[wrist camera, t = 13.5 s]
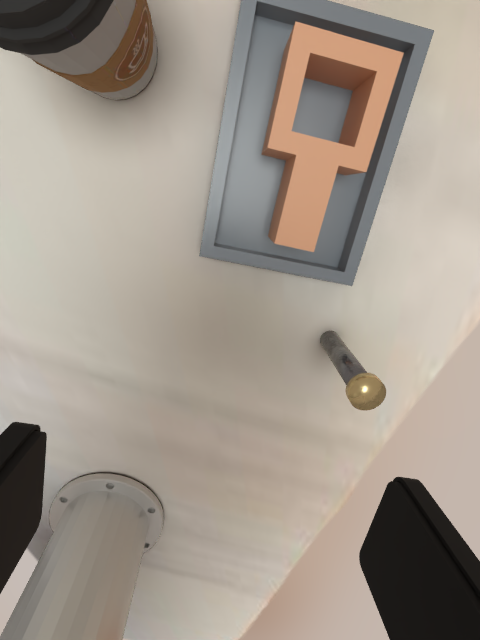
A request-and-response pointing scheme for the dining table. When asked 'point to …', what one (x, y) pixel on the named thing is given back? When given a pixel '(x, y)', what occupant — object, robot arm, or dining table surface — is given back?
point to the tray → (310, 119)
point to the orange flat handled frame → (314, 153)
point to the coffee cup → (85, 41)
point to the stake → (353, 374)
